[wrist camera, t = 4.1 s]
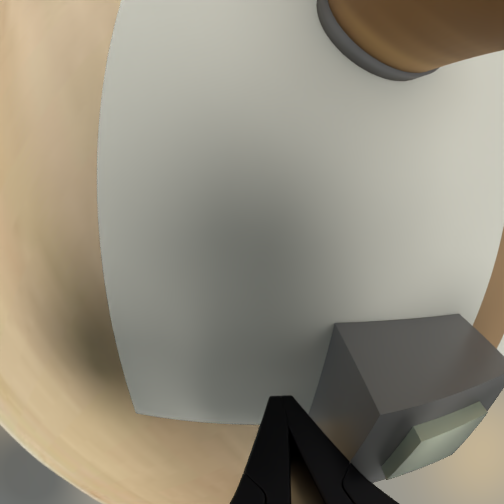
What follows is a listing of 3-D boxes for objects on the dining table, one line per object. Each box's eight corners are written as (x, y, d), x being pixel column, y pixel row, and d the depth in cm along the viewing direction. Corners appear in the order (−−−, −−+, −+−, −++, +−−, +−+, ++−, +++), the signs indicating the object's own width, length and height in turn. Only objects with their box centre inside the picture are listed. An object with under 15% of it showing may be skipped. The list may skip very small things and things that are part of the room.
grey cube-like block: (418, 397, 11) (456, 462, 6) (307, 415, 10) (329, 506, 6) (459, 313, 9) (524, 377, 5) (334, 322, 9) (389, 433, 4)
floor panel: (490, 365, 13) (499, 375, 12) (142, 395, 11) (136, 413, 10) (547, 104, 7) (560, 105, 6) (145, -28, 5) (137, -43, 4)
